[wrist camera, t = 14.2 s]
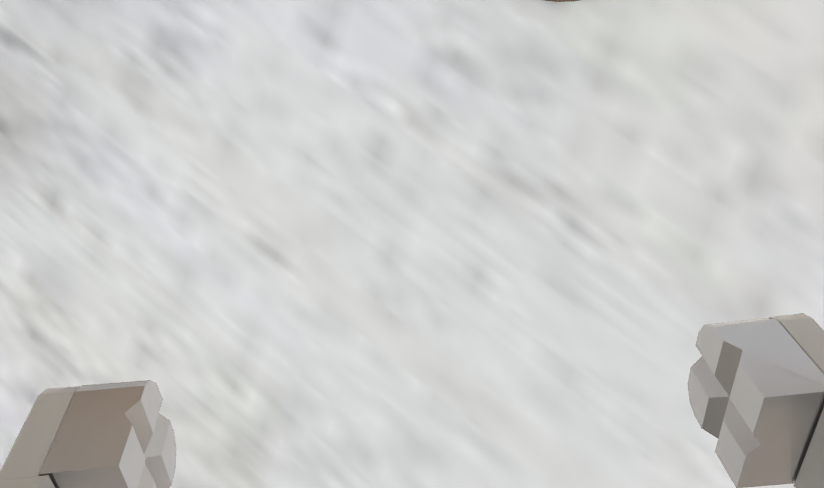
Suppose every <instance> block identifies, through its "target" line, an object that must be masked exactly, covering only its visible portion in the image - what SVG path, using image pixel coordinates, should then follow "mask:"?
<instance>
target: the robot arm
mask: <svg viewBox="0 0 824 488" xmlns="http://www.w3.org/2000/svg"><path fill="white" fill-rule="evenodd" d="M696 347H697V348H698V350H699V351H700V353H701V355H702V357H701V358H700V359H699V360H698V361H697V362H696V363H695V364H694V365H693V366H692V367H691V368H690V374H689V380H688V391H689V400H690V404H691V407H692V410H693V413H694V415H695V417H696V419H697V421H698V422H699V424H700V426H701V428H702V429H704V430H705V431H707V432H709V433H710V434H712V435H713V436H715V437H717V438H718V442H717V446H716V450H715V452H716V454H717V456H718V457H719V459H720V461H721V463H722V464H723V466H724V468H725V469H726V471H727V473H728V475H729V476H730V478H731V480H732V481H733V483H734V485H735V486H736V488H743V487H755V486H767V485H779V484H791V483H795V484H794V487H796V488H824V331H823V330H822V328H821V327H820V326H819V325H818V324H817V323H816V322H815V321H814V320H813V319H812V318H811V317H809V316H807V315H805V314H803V313H802V314H793V315H785V316H776V317H770V318H763V319H753V320H744V321H735V322H726V323H716V324H707V325H704V326H703V327H702V328H701V330H700V331H699V333H698V337H697V341H696ZM162 400H163V399H162V396H161V394H160V391H159V389H158V386H157V383H155V382H153V381H151V380H147V381H134V382H121V383H108V384H95V385H82V386H81V387H65V388H51V389H46V390H45V391H44V392H42V393H41V394H40V395H39V396H38V397H37V399H36V401H35V403H34V405H33V407H32V409H31V411H30V413H29V415H28V417H27V419H26V421H25V423H24V425H23V427H22V429H21V431H20V433H19V435H18V437H17V439H16V441H15V443H14V445H13V447H12V449H11V451H10V453H9V455H8V457H7V459H6V461H5V463H4V465H3V467H2V469H1V471H0V488H169V487H170V486H171V485H172V482H173V477H174V473H175V468H176V443H175V436H174V432H173V428H172V425H171V422H170V421H169V420H168V419H166V418H165V417H164V416H162V415H161V414H159V411H160V407H161V404H162Z"/></svg>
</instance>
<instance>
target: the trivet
mask: <svg viewBox="0 0 824 488" xmlns="http://www.w3.org/2000/svg"><path fill="white" fill-rule="evenodd" d="M546 1H555V2H562V1H578V0H546Z"/></svg>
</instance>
